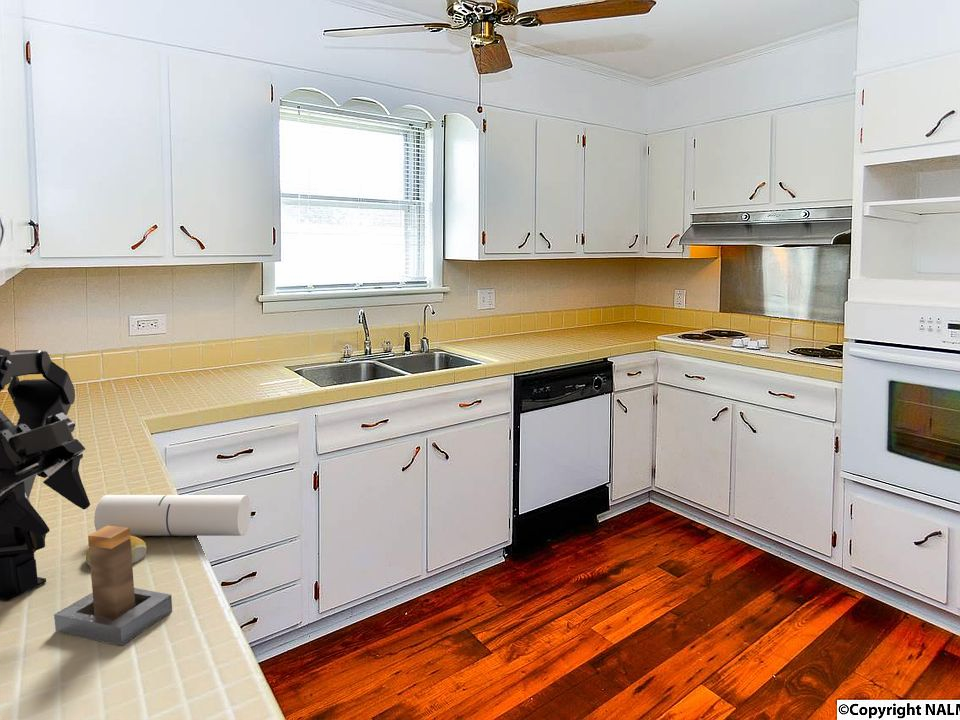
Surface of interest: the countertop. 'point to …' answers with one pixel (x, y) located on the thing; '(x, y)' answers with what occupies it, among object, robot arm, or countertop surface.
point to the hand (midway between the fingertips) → (68, 519)
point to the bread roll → (136, 549)
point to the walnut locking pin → (111, 571)
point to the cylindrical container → (175, 514)
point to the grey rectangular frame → (120, 630)
